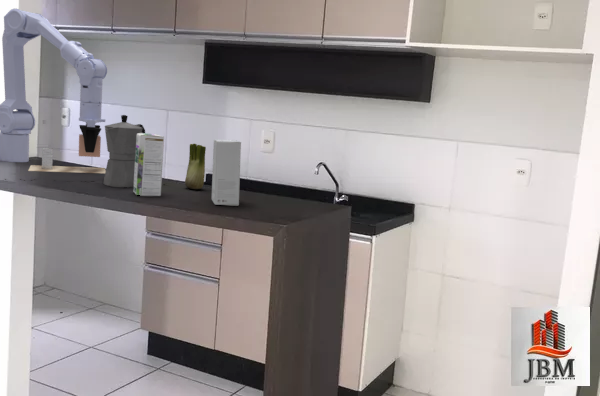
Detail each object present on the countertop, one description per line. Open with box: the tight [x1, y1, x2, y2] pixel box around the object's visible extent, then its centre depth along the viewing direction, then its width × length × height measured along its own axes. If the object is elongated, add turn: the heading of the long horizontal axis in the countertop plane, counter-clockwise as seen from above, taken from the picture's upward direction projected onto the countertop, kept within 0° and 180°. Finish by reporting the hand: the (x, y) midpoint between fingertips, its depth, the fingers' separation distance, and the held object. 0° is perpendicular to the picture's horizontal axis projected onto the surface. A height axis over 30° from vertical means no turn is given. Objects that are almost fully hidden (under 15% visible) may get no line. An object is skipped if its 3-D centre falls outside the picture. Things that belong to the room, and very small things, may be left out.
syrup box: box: [132, 132, 165, 197], centre depth 148 cm, size 6×6×14 cm
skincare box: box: [211, 139, 242, 207], centre depth 145 cm, size 8×6×15 cm
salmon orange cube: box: [78, 133, 102, 158], centre depth 175 cm, size 6×6×6 cm
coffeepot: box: [102, 114, 146, 189], centre depth 160 cm, size 15×9×18 cm, turn 159°
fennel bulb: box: [184, 143, 207, 190], centre depth 162 cm, size 6×5×12 cm
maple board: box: [27, 164, 106, 175], centre depth 174 cm, size 20×12×1 cm, turn 110°
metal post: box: [41, 147, 54, 169], centre depth 172 cm, size 3×3×6 cm
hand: (89, 151), depth 175 cm, fingers closed on salmon orange cube, 6 cm apart
